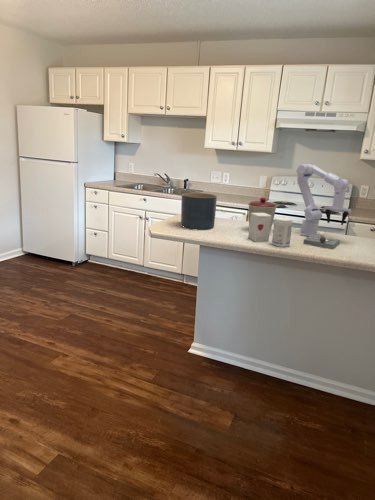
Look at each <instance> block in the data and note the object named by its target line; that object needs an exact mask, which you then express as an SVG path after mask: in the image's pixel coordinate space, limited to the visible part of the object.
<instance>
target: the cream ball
mask: <svg viewBox="0 0 375 500" xmlns="http://www.w3.org/2000/svg"><path fill="white" fill-rule="evenodd" d="M318 234H319V235H318V236H320V237H325V232H324V231H320V232H318Z"/></svg>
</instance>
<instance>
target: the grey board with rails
mask: <svg viewBox="0 0 375 500" xmlns="http://www.w3.org/2000/svg"><path fill="white" fill-rule="evenodd" d="M324 237H325V238H326V239H328V240H329V241H328V240H326V241H325V242H321V241H320V238H321V237H320V236H319V235H318V236H315V235H311V236H306V238H304V239H303V241H302V242H303V243H302V244H303V245H308V246H314V247H317V248H318V247H319V248H324V249H328V250H329V249H330V250H334V249H335V248H336V247H337V246H338V245H339V244H340V241H341V240H340V239H338V238H333V237H326V236H324Z"/></svg>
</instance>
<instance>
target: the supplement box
mask: <svg viewBox="0 0 375 500" xmlns="http://www.w3.org/2000/svg"><path fill="white" fill-rule="evenodd" d="M270 225H271V215H269V214H266V213H251V216H250V226H249V225H248V235H247V236H248V239H250V240H252V241H253V242H269V239H270V232H271V229H270Z"/></svg>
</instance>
